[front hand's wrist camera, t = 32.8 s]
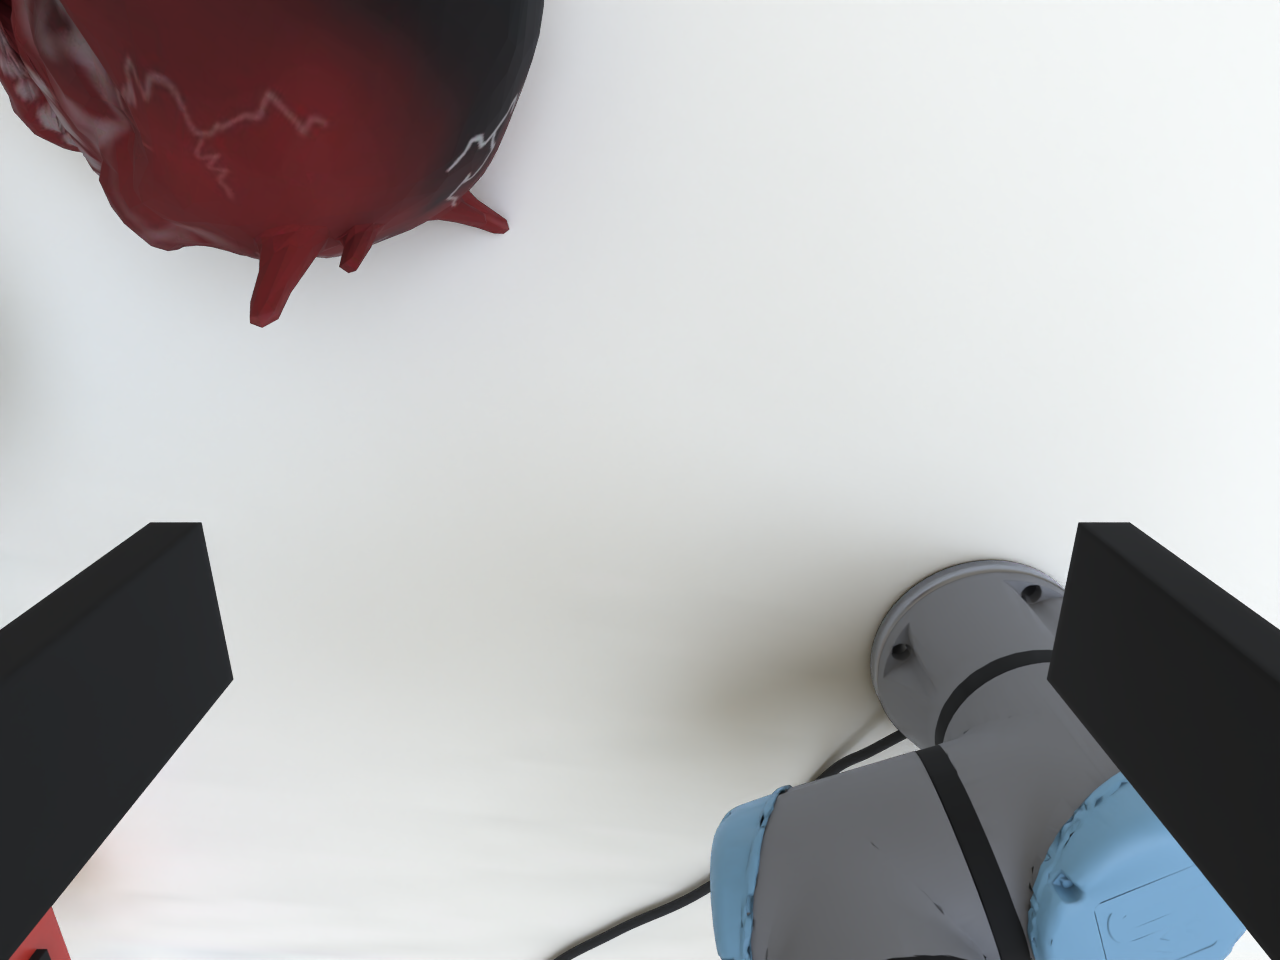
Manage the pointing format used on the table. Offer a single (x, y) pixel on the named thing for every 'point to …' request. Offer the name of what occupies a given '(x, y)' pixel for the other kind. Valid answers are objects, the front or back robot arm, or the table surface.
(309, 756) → the table surface
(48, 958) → the back robot arm
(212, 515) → the table surface
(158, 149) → the dark red round lump
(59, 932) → the brick
